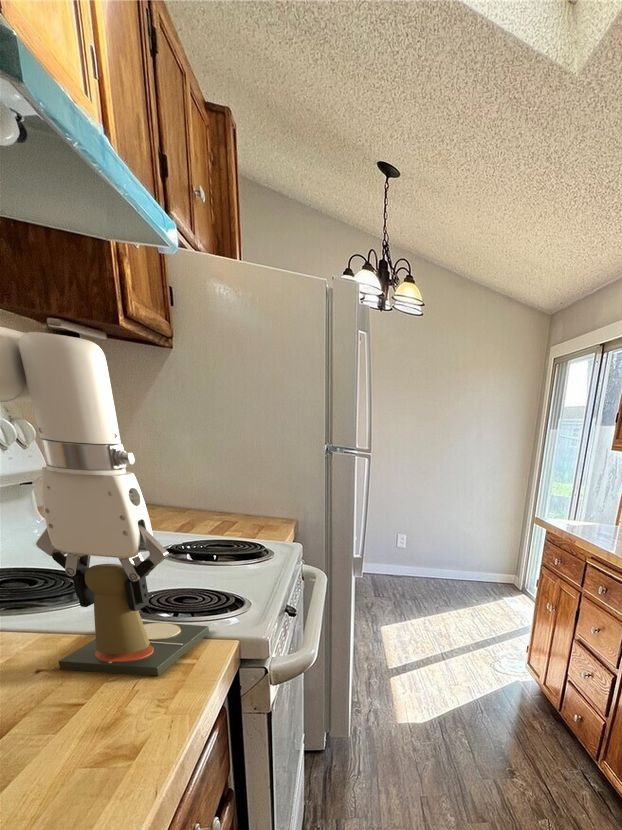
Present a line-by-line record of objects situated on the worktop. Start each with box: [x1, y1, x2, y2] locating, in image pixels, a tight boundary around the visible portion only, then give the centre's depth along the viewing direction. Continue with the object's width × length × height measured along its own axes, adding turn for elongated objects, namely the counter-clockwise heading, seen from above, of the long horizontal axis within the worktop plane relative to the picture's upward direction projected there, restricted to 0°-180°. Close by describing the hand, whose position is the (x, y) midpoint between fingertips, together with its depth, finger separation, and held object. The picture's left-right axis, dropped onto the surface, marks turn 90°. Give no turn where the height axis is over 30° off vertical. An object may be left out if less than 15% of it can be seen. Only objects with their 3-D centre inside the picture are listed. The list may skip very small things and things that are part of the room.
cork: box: [85, 563, 150, 654], centre depth 73 cm, size 6×6×11 cm
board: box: [57, 620, 210, 677], centre depth 79 cm, size 12×16×1 cm
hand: (114, 604), depth 72 cm, fingers closed on cork, 5 cm apart
